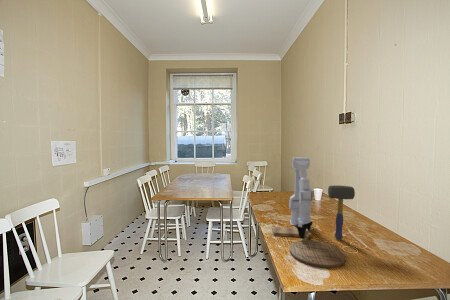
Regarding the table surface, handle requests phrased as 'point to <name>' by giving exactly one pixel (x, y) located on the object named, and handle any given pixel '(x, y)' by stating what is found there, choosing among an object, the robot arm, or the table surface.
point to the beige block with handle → (305, 235)
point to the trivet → (317, 254)
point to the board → (286, 232)
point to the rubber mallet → (340, 204)
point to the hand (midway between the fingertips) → (303, 236)
